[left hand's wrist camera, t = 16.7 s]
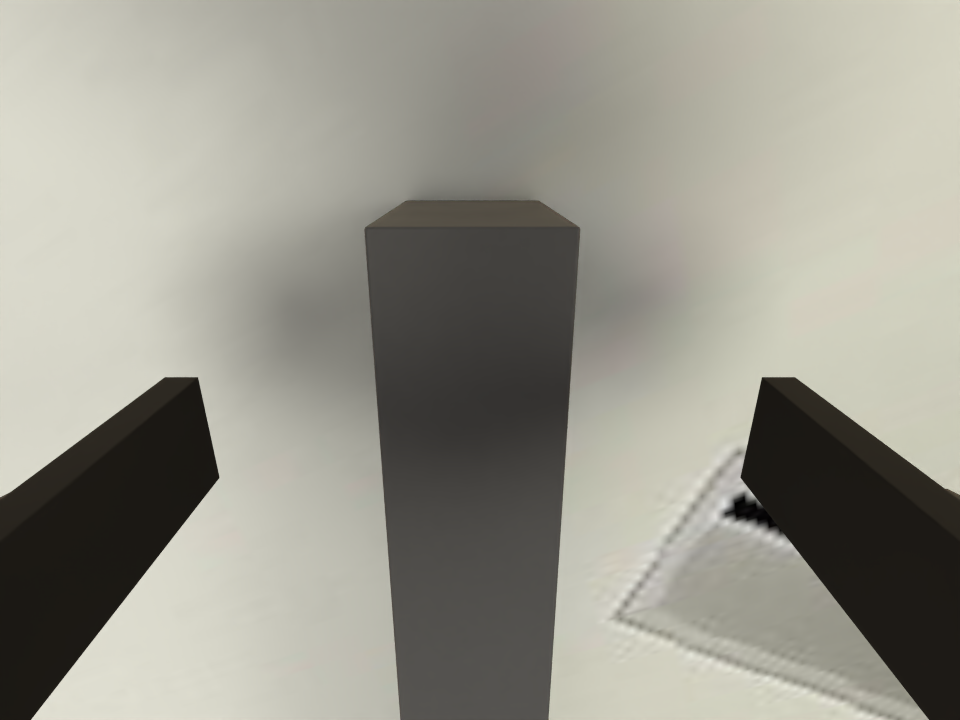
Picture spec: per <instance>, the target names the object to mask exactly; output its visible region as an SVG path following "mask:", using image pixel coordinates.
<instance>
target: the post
mask: <svg viewBox="0 0 960 720" xmlns="http://www.w3.org/2000/svg"><path fill="white" fill-rule="evenodd" d="M579 239H580V228H579V227H578V226H577V225H575V224H574V223H572V222H570V221H569V220H567V219H566V218H564V217H563V216H561V215H560V214H558V213H557V212H555V211H554V210H552V209H551V208H549V207H548V206H546V205H545V204H543V203H541V202H540V201H405V202H404V203H402V204H401V205H399V206H398V207H396V208H394V209H393V210H391V211H390V212H388V213H387V214H385V215H384V216H382V217H381V218H379V219H378V220H376V221H374V222H373V223H371V224H370V225H368V226H367V227H365V243H366V257H367V270H368V284H369V298H370V311H371V325H372V338H373V352H374V366H375V379H376V393H377V406H378V420H379V433H380V447H381V461H382V474H383V488H384V501H385V515H386V529H387V542H388V556H389V569H390V583H391V597H392V610H393V624H394V637H395V651H396V665H397V678H398V692H399V705H400V719H401V720H548V716H549V701H550V685H551V670H552V655H553V639H554V624H555V609H556V593H557V578H558V562H559V547H560V532H561V516H562V501H563V485H564V470H565V455H566V439H567V424H568V409H569V393H570V378H571V362H572V347H573V332H574V316H575V301H576V286H577V270H578V255H579Z"/></svg>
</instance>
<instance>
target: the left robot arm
mask: <svg viewBox="0 0 960 720" xmlns="http://www.w3.org/2000/svg"><path fill="white" fill-rule="evenodd" d="M218 479H219V473H218V469H217V464H216V459H215V455H214V450H213V445H212V441H211V436H210V431H209V427H208V422H207V417H206V413H205V408H204V403H203V399H202V394H201V390H200V385H199V380H198V377H165V378H164V379H162V380H161V381H160V382H158V383H157V384H155V385H154V386H153V387H151V388H150V389H149V390H147V391H146V392H145V393H143V394H142V395H141V396H139V397H138V398H137V399H135V400H134V401H133V402H131V403H130V404H129V405H127V406H126V407H125V408H123V409H122V410H121V411H119V412H118V413H116V414H115V415H114V416H112V417H111V418H110V419H108V420H107V421H106V422H104V423H103V424H102V425H100V426H99V427H98V428H96V429H95V430H94V431H92V432H91V433H90V434H88V435H87V436H86V437H84V438H83V439H82V440H80V441H79V442H78V443H76V444H75V445H73V446H72V447H71V448H69V449H68V450H67V451H65V452H64V453H63V454H61V455H60V456H59V457H57V458H56V459H55V460H53V461H52V462H51V463H49V464H48V465H47V466H45V467H44V468H43V469H41V470H40V471H39V472H37V473H36V474H34V475H33V476H32V477H30V478H29V479H28V480H26V481H25V482H24V483H22V484H21V485H20V486H18V487H17V488H16V489H14V490H13V491H12V492H10V493H8V494H6V495H4V496H2V497H0V720H31V719H32V718H33V716H34V715H35V714H36V712H37V711H38V710H39V709H40V707H41V706H42V705H43V703H44V702H45V701H46V700H47V698H48V697H49V696H50V694H51V693H52V692H53V691H54V689H55V688H56V687H57V686H58V684H59V683H60V682H61V680H62V679H63V678H64V677H65V675H66V674H67V673H68V671H69V670H70V669H71V668H72V666H73V665H74V664H75V662H76V661H77V660H78V659H79V657H80V656H81V655H82V653H83V652H84V651H85V650H86V648H87V647H88V646H89V644H90V643H91V642H92V641H93V639H94V638H95V637H96V635H97V634H98V633H99V632H100V630H101V629H102V628H103V626H104V625H105V624H106V623H107V621H108V620H109V619H110V617H111V616H112V615H113V614H114V612H115V611H116V610H117V608H118V607H119V606H120V605H121V603H122V602H123V601H124V599H125V598H126V597H127V596H128V594H129V593H130V592H131V591H132V589H133V588H134V587H135V585H136V584H137V583H138V582H139V580H140V579H141V578H142V576H143V575H144V574H145V573H146V571H147V570H148V569H149V567H150V566H151V565H152V564H153V562H154V561H155V560H156V558H157V557H158V556H159V555H160V553H161V552H162V551H163V549H164V548H165V547H166V546H167V544H168V543H169V542H170V540H171V539H172V538H173V537H174V535H175V534H176V533H177V531H178V530H179V529H180V528H181V526H182V525H183V524H184V522H185V521H186V520H187V519H188V517H189V516H190V515H191V513H192V512H193V511H194V510H195V508H196V507H197V506H198V504H199V503H200V502H201V501H202V499H203V498H204V497H205V495H206V494H207V493H208V492H209V490H210V489H211V488H212V487H213V485H214V484H215V483H216V481H217V480H218ZM741 479H742V480H743V481H744V483H745V484H746V485H747V487H748V488H749V489H750V490H751V492H752V493H753V494H754V496H755V497H756V498H757V499H758V501H759V502H760V503H761V504H762V506H763V507H764V508H765V510H766V511H767V512H768V513H769V515H770V516H771V517H772V519H773V520H774V521H775V522H776V524H777V525H778V526H779V528H780V529H781V530H782V531H783V533H784V534H785V535H786V537H787V538H788V539H789V540H790V542H791V543H792V544H793V546H794V547H795V548H796V549H797V551H798V552H799V553H800V555H801V556H802V557H803V558H804V560H805V561H806V562H807V564H808V565H809V566H810V567H811V569H812V570H813V571H814V573H815V574H816V575H817V576H818V578H819V579H820V580H821V582H822V583H823V584H824V585H825V587H826V588H827V589H828V591H829V592H830V593H831V594H832V596H833V597H834V598H835V599H836V601H837V602H838V603H839V605H840V606H841V607H842V608H843V610H844V611H845V612H846V614H847V615H848V616H849V617H850V619H851V620H852V621H853V623H854V624H855V625H856V626H857V628H858V629H859V630H860V632H861V633H862V634H863V635H864V637H865V638H866V639H867V641H868V642H869V643H870V644H871V646H872V647H873V648H874V650H875V651H876V652H877V653H878V655H879V656H880V657H881V659H882V660H883V661H884V662H885V664H886V665H887V666H888V668H889V669H890V670H891V671H892V673H893V674H894V675H895V677H896V678H897V679H898V680H899V682H900V683H901V684H902V686H903V687H904V688H905V689H906V691H907V692H908V693H909V694H910V696H911V697H912V698H913V700H914V701H915V702H916V703H917V705H918V706H919V707H920V709H921V710H922V711H923V712H924V714H925V715H926V716H927V718H928V719H929V720H960V495H959V494H957V493H955V492H953V491H951V490H948V489H944V488H943V487H942V486H940V485H939V484H938V483H936V482H935V481H934V480H932V479H931V478H930V477H928V476H927V475H926V474H924V473H923V472H921V471H920V470H919V469H917V468H916V467H915V466H913V465H912V464H911V463H909V462H908V461H907V460H905V459H904V458H903V457H901V456H900V455H899V454H897V453H896V452H895V451H893V450H892V449H891V448H889V447H888V446H887V445H885V444H884V443H882V442H881V441H880V440H878V439H877V438H876V437H874V436H873V435H872V434H870V433H869V432H868V431H866V430H865V429H864V428H862V427H861V426H860V425H858V424H857V423H856V422H854V421H853V420H852V419H850V418H849V417H848V416H846V415H845V414H844V413H842V412H841V411H839V410H838V409H837V408H835V407H834V406H833V405H831V404H830V403H829V402H827V401H826V400H825V399H823V398H822V397H821V396H819V395H818V394H817V393H815V392H814V391H813V390H811V389H810V388H809V387H807V386H806V385H805V384H803V383H802V382H800V381H799V380H798V379H796V378H795V377H762V380H761V385H760V390H759V394H758V399H757V403H756V408H755V413H754V417H753V422H752V427H751V431H750V436H749V441H748V445H747V450H746V455H745V459H744V464H743V469H742V473H741Z"/></svg>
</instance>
